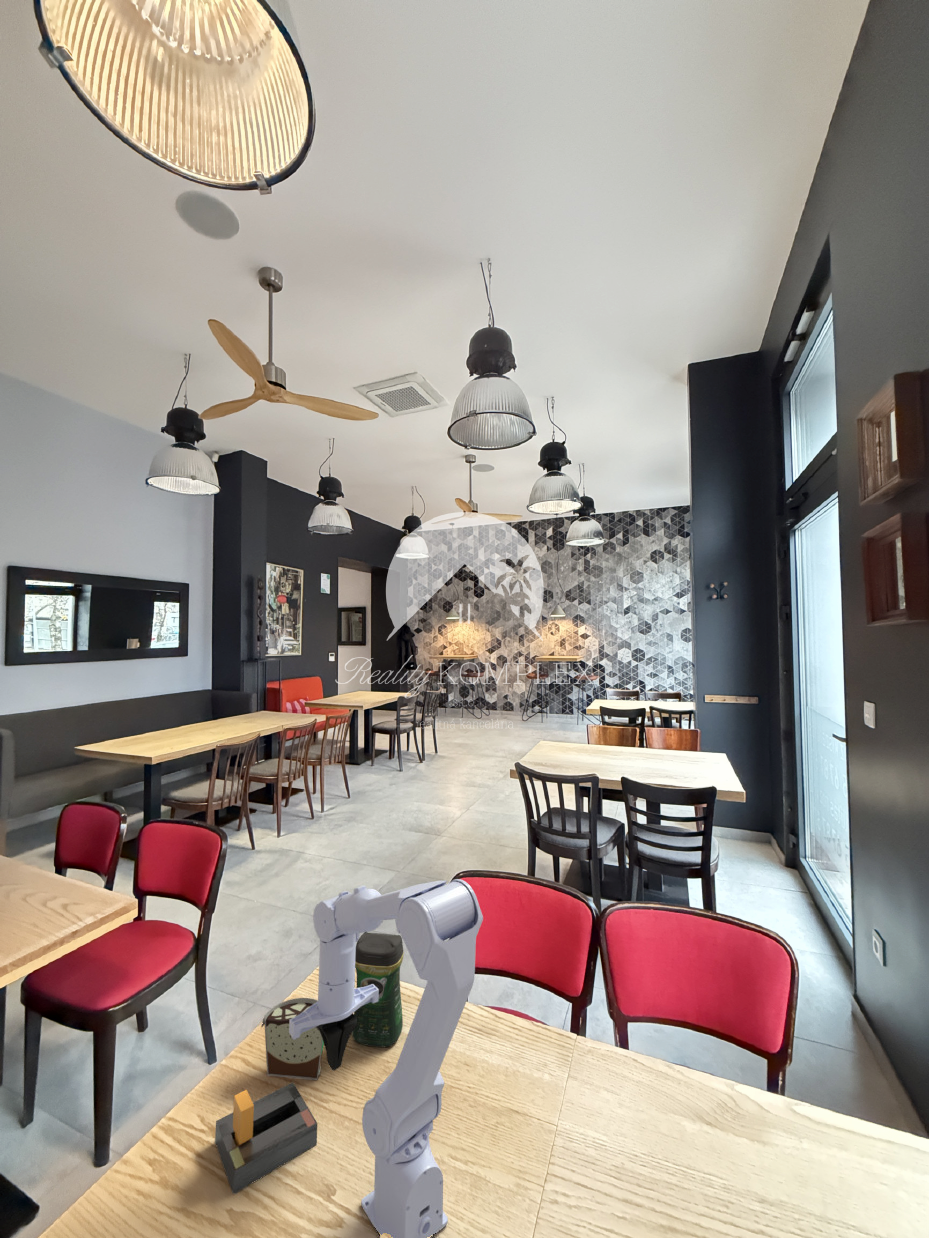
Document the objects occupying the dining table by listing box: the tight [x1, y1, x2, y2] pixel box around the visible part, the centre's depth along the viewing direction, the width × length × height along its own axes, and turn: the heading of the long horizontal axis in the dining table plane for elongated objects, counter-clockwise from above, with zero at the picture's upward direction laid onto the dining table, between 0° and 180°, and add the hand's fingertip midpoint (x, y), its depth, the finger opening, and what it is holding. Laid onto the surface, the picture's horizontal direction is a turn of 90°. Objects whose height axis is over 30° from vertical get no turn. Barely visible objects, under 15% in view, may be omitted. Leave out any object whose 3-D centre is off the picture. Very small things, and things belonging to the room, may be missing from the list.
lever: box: [232, 1089, 254, 1147], centre depth 77 cm, size 4×2×7 cm, turn 39°
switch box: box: [214, 1081, 318, 1195], centre depth 79 cm, size 10×12×3 cm
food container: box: [261, 997, 325, 1081], centre depth 95 cm, size 12×6×10 cm, turn 84°
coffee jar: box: [351, 932, 405, 1048], centre depth 103 cm, size 10×8×19 cm
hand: (334, 1064), depth 82 cm, fingers closed
